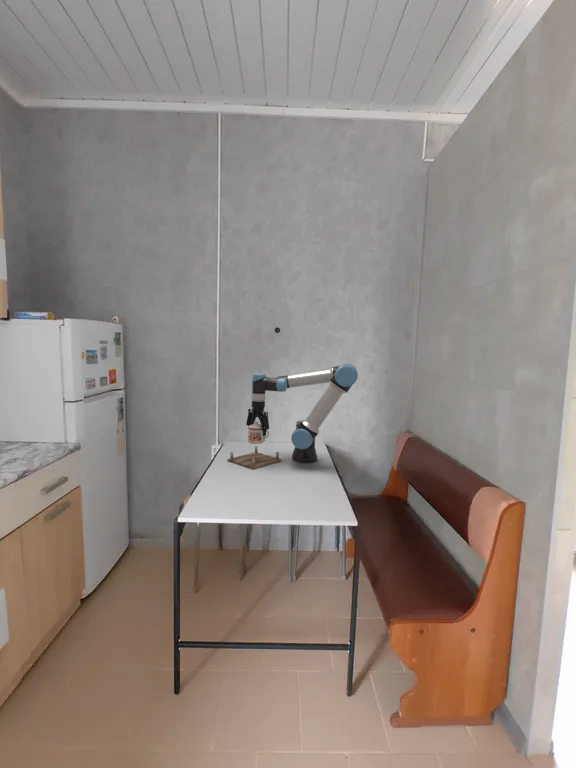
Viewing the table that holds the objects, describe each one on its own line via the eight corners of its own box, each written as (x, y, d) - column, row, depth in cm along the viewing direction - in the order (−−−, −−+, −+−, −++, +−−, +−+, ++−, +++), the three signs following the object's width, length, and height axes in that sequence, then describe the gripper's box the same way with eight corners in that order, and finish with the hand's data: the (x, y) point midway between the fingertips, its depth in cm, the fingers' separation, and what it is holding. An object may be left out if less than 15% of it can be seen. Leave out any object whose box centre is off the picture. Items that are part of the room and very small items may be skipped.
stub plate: (281, 461, 227) (281, 452, 226) (253, 469, 209) (253, 460, 209) (256, 453, 240) (256, 445, 240) (227, 461, 223) (227, 452, 222)
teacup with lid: (246, 443, 218) (247, 423, 217) (248, 440, 227) (249, 420, 226) (268, 444, 217) (268, 424, 216) (269, 440, 226) (269, 421, 225)
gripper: (276, 402, 216) (275, 442, 219) (250, 397, 230) (248, 435, 232) (267, 403, 211) (266, 444, 213) (240, 398, 225) (239, 437, 227)
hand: (257, 439), depth 223 cm, fingers closed on teacup with lid, 9 cm apart
